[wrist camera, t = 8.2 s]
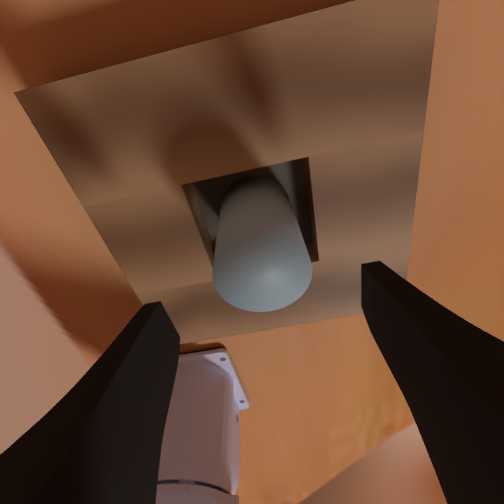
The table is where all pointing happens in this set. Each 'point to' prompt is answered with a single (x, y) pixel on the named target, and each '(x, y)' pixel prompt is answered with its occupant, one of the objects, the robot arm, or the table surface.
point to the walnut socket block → (252, 153)
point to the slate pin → (259, 247)
